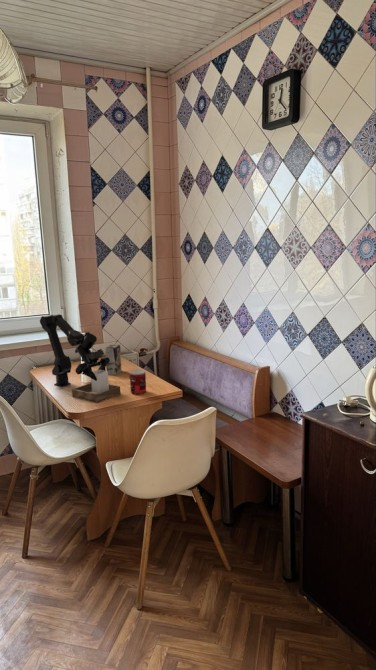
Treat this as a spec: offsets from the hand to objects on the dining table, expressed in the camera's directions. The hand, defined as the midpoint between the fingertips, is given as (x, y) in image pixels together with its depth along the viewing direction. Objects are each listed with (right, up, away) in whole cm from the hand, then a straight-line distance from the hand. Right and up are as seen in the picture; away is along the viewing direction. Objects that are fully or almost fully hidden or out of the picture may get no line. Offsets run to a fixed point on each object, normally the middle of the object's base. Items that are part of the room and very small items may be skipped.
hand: (101, 378), depth 237 cm
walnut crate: (-3, -9, +3) cm, 10 cm away
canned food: (+18, -8, +6) cm, 20 cm away
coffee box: (0, -1, +43) cm, 43 cm away
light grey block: (-1, -6, +2) cm, 7 cm away
